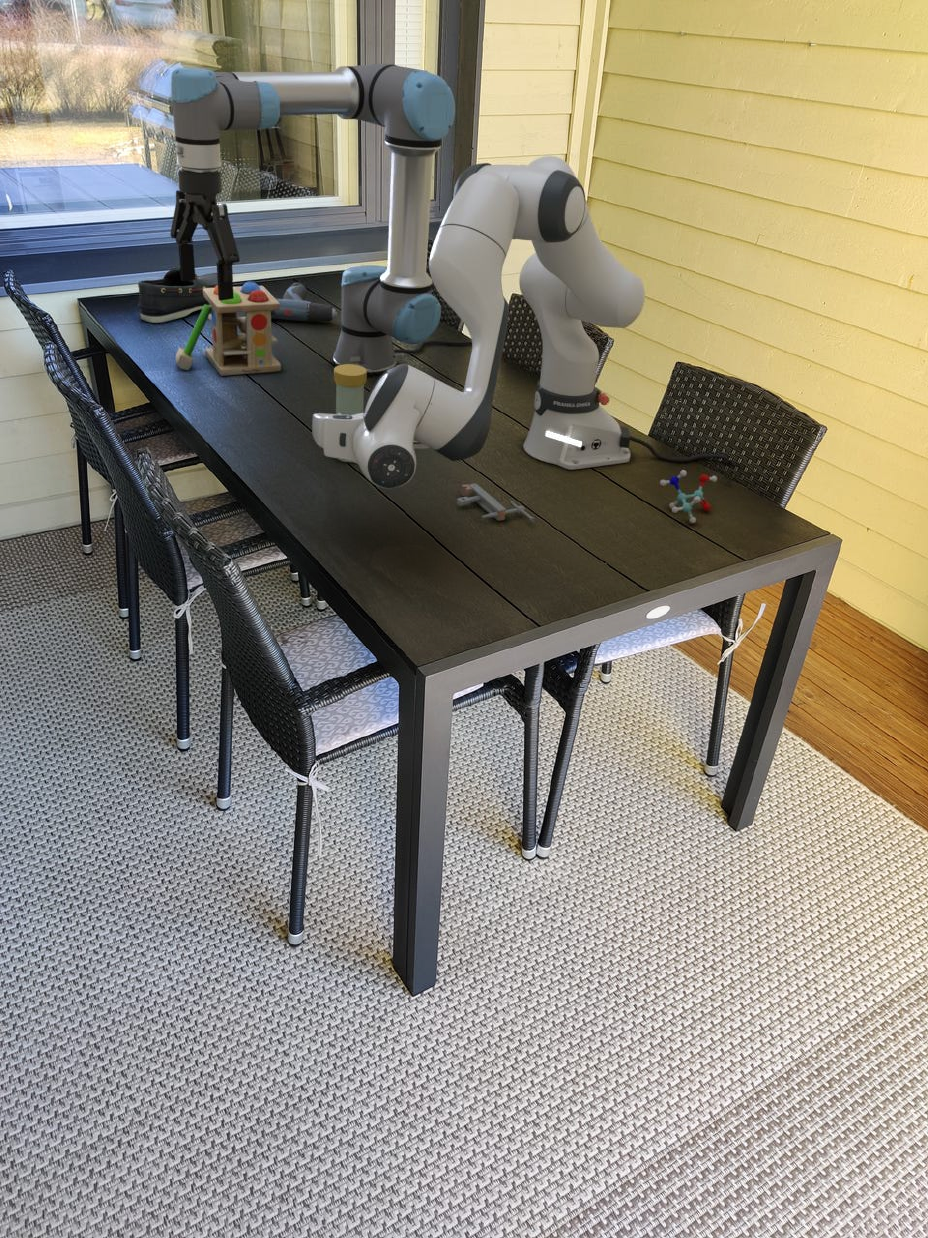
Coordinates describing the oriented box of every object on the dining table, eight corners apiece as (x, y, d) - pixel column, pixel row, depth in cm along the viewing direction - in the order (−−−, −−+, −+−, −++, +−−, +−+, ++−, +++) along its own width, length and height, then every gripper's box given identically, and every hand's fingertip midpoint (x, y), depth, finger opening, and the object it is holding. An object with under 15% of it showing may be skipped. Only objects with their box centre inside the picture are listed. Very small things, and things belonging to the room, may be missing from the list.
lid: (347, 372, 190) (348, 361, 189) (373, 381, 187) (373, 369, 186) (327, 380, 186) (327, 369, 184) (352, 389, 183) (352, 378, 182)
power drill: (344, 304, 276) (335, 327, 259) (277, 298, 275) (264, 321, 258) (344, 285, 273) (335, 306, 256) (277, 279, 272) (264, 300, 255)
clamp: (448, 487, 182) (493, 478, 187) (447, 497, 184) (492, 489, 188) (489, 523, 172) (536, 514, 177) (488, 534, 173) (535, 524, 178)
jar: (347, 448, 198) (348, 365, 188) (367, 456, 196) (369, 372, 186) (330, 456, 194) (330, 371, 185) (350, 464, 192) (352, 379, 182)
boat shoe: (248, 301, 272) (246, 262, 267) (158, 325, 248) (153, 283, 243) (214, 293, 278) (211, 255, 272) (123, 315, 254) (117, 274, 248)
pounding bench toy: (183, 379, 220) (176, 299, 210) (169, 357, 231) (162, 280, 221) (282, 371, 230) (280, 294, 220) (264, 350, 240) (262, 276, 230)
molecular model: (721, 517, 179) (705, 464, 177) (670, 531, 182) (655, 480, 181) (726, 508, 189) (711, 458, 188) (678, 522, 193) (663, 473, 191)
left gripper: (145, 155, 179) (155, 274, 191) (217, 183, 164) (224, 310, 176) (182, 153, 183) (190, 269, 195) (256, 180, 169) (260, 304, 181)
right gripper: (443, 423, 159) (429, 404, 171) (316, 417, 154) (310, 397, 167) (439, 461, 161) (426, 439, 174) (314, 456, 157) (309, 434, 169)
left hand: (206, 289), depth 186 cm, fingers open, 13 cm apart
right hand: (368, 419), depth 170 cm, fingers open, 8 cm apart
